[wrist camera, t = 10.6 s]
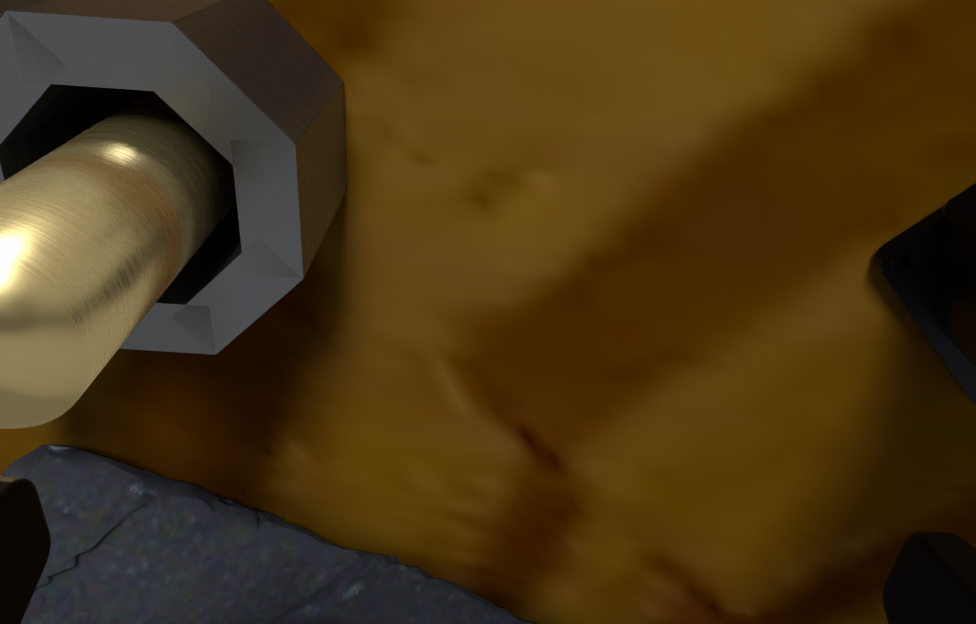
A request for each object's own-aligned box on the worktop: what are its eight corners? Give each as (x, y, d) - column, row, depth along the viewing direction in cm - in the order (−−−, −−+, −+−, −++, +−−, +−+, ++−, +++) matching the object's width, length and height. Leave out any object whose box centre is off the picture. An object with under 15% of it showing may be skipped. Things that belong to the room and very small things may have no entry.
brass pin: (277, 189, 20) (106, 434, 11) (161, 182, 20) (-102, 422, 11) (268, 72, 18) (63, 250, 10) (143, 63, 18) (-177, 234, 10)
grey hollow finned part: (401, 142, 19) (372, 219, 15) (132, 384, 23) (46, 502, 19) (-4, -285, 15) (-210, -353, 11) (-250, 97, 19) (-476, 162, 14)
